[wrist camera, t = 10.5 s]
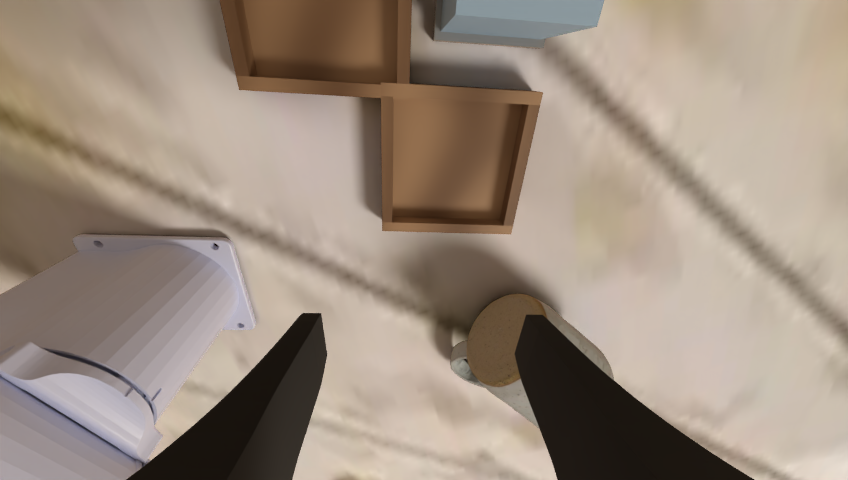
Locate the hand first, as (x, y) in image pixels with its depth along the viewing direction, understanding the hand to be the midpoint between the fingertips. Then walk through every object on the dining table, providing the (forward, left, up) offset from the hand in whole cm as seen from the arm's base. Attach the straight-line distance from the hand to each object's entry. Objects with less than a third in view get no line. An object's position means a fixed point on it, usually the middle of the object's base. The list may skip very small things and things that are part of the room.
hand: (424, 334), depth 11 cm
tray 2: (+2, +4, -10) cm, 11 cm away
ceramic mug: (+8, -11, -11) cm, 17 cm away
